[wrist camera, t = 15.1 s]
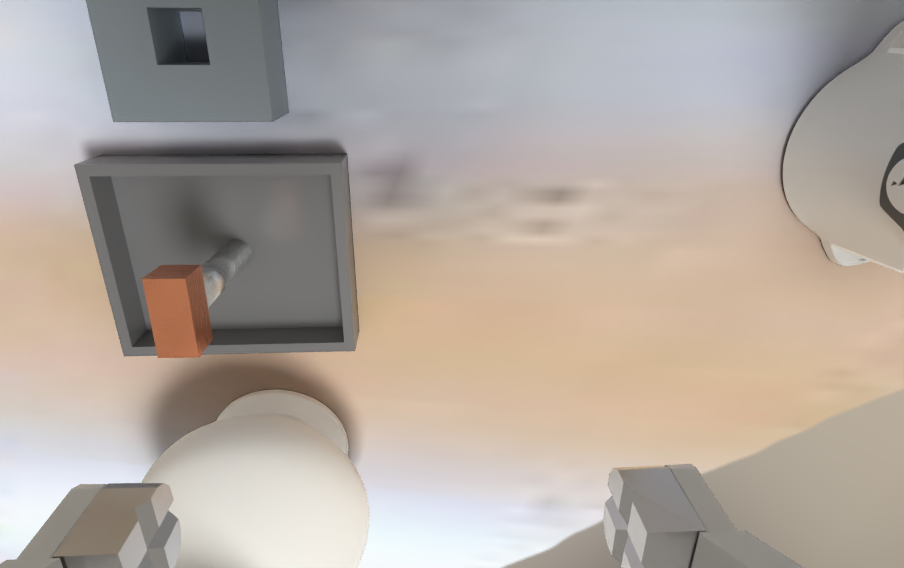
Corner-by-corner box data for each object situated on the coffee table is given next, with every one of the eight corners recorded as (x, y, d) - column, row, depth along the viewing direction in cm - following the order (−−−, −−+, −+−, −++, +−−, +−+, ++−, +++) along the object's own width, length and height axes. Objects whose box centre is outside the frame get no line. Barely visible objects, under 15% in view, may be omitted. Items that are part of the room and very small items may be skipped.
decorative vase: (154, 476, 53) (-45, 804, 31) (226, 331, 48) (48, 599, 25) (326, 540, 58) (265, 869, 35) (410, 413, 52) (403, 706, 29)
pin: (249, 221, 43) (185, 278, 32) (257, 282, 45) (199, 357, 34) (217, 221, 43) (141, 279, 32) (226, 282, 45) (157, 357, 34)
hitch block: (272, -46, 37) (251, -58, 33) (288, 112, 41) (272, 121, 36) (115, -48, 37) (72, -60, 32) (147, 112, 41) (113, 122, 36)
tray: (347, 153, 42) (341, 163, 39) (359, 330, 48) (355, 351, 45) (100, 155, 42) (74, 164, 38) (143, 334, 48) (124, 356, 44)
